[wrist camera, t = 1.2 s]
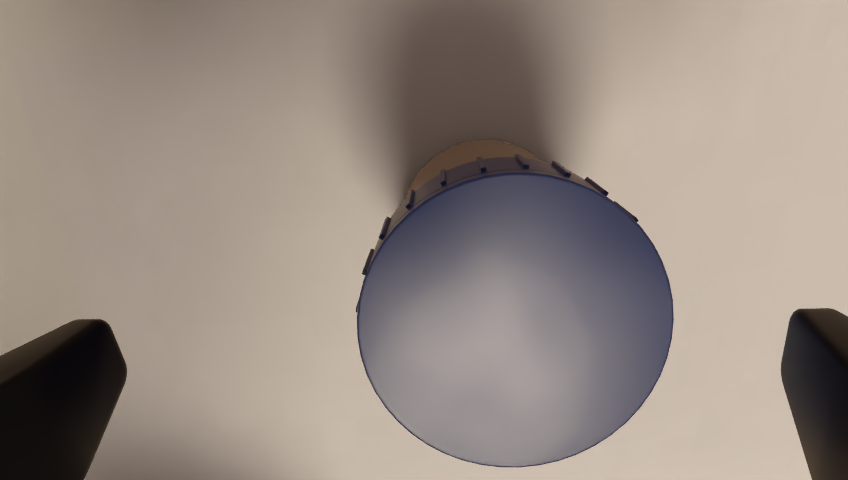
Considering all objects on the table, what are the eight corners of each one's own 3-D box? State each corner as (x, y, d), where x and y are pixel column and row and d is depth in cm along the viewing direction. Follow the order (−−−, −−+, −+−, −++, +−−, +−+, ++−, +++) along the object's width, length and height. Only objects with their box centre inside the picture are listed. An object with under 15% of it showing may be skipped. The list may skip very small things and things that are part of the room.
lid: (641, 408, 16) (673, 462, 14) (378, 422, 16) (369, 478, 14) (644, 144, 15) (681, 157, 12) (352, 164, 15) (337, 181, 13)
